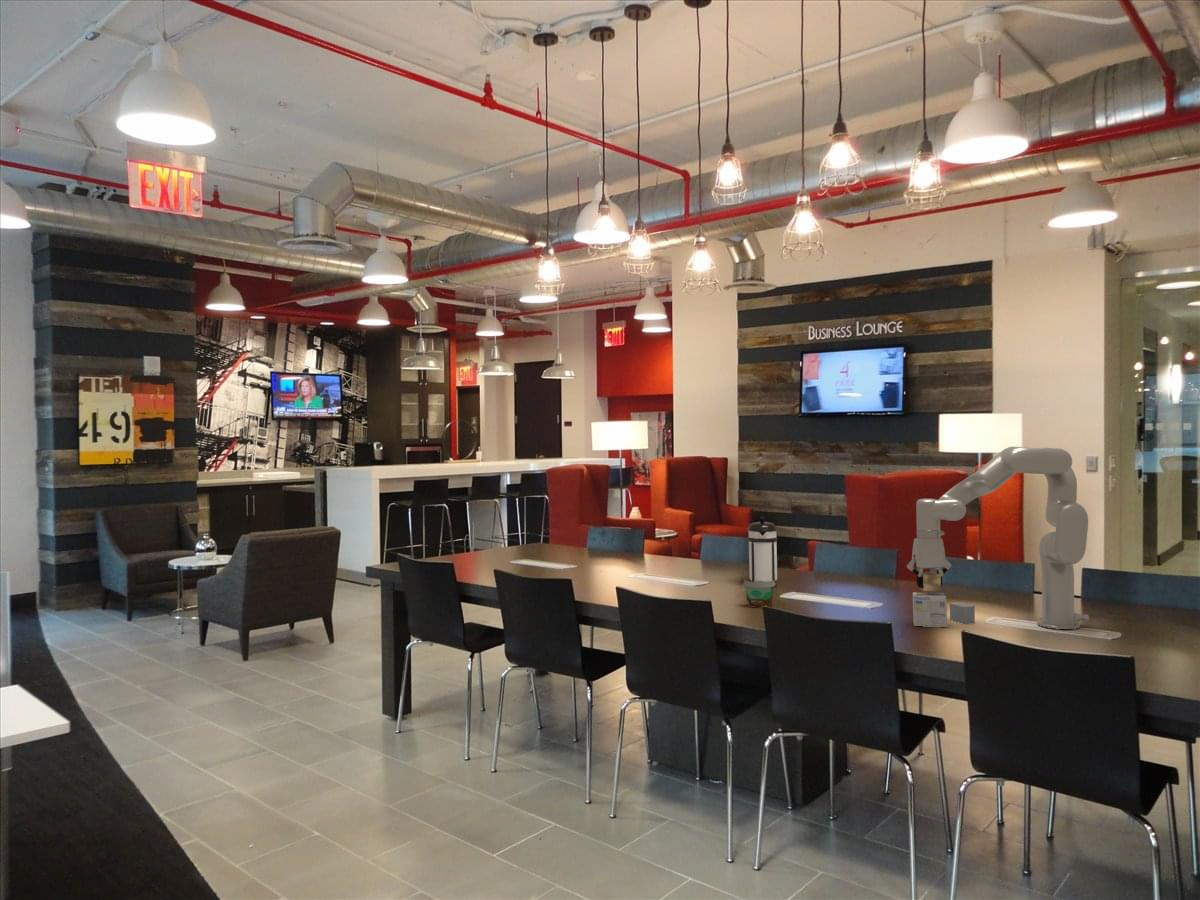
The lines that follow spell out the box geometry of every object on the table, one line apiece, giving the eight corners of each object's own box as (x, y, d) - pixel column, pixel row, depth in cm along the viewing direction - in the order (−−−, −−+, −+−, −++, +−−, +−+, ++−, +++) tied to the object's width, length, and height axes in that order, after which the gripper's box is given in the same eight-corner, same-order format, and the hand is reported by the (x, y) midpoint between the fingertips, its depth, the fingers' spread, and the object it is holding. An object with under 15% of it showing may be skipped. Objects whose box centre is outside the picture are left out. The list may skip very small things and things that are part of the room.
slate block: (960, 619, 295) (960, 602, 295) (974, 623, 288) (974, 606, 288) (950, 620, 293) (949, 603, 293) (963, 624, 287) (963, 607, 287)
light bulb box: (945, 623, 288) (944, 592, 288) (947, 628, 282) (947, 596, 282) (912, 622, 291) (911, 591, 291) (914, 627, 285) (913, 595, 284)
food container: (742, 607, 321) (742, 582, 321) (743, 604, 327) (743, 579, 327) (775, 608, 318) (774, 582, 318) (776, 605, 324) (775, 579, 324)
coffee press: (789, 584, 366) (788, 516, 366) (761, 588, 358) (760, 519, 358) (763, 579, 381) (761, 513, 381) (735, 583, 373) (734, 516, 373)
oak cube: (934, 587, 289) (933, 571, 289) (940, 590, 284) (940, 574, 283) (918, 588, 289) (918, 572, 289) (924, 591, 283) (924, 575, 283)
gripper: (948, 532, 290) (949, 585, 290) (899, 534, 290) (900, 586, 290) (958, 535, 282) (959, 589, 283) (907, 537, 282) (908, 590, 282)
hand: (929, 587), depth 286 cm, fingers closed on oak cube, 5 cm apart
